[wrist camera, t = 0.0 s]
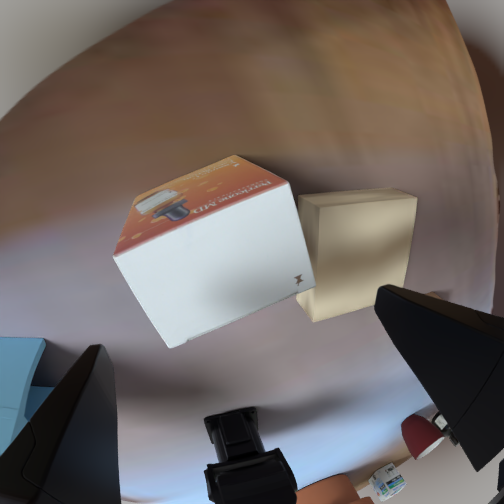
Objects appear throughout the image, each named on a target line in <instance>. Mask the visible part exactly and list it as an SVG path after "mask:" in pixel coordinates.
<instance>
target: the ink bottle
mask: <svg viewBox="0 0 504 504" xmlns="http://www.w3.org/2000/svg"><path fill="white" fill-rule="evenodd" d="M431 423H432V424H433V425H434V426H435V427H437V428H438V429H439V430H440V431H441V433H442V434H443V435H444V437H449V439H450V441H451V442H452V443H453V445H454V446H455V447H456V446H458V445H459V442H458V440H457V439H456V437H455V435H454V434H453V432H452V430H451V429H450V427H449V426H448V424H447V422H446V421H445V419H444V418H443V416H442V414H441V413H440V411H439V412H438V413H437V414H436V416H435V417H434V418H433V420H432V422H431Z"/></svg>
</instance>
